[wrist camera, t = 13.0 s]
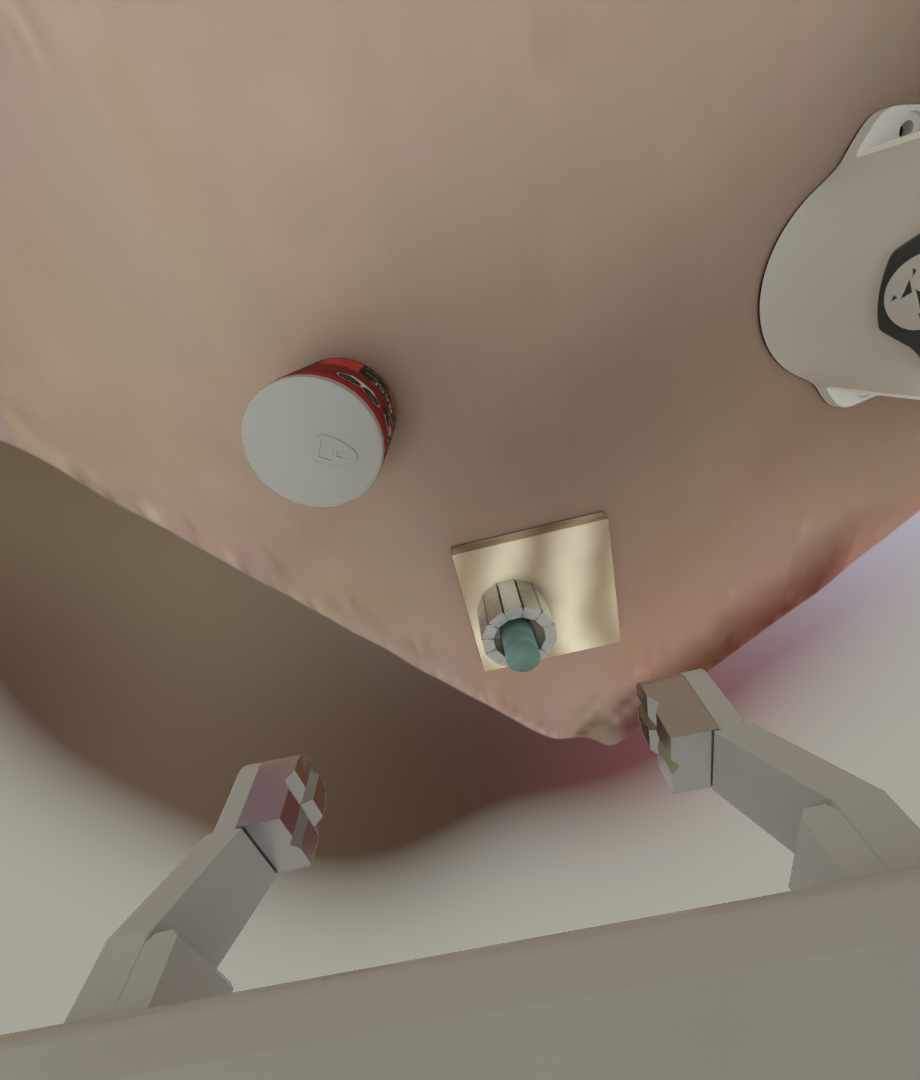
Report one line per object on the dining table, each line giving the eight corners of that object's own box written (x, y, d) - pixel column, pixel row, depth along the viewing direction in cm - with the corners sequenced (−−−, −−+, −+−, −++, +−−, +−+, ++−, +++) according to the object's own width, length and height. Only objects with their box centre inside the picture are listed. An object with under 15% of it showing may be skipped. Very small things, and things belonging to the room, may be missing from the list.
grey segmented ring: (539, 572, 42) (551, 600, 38) (549, 627, 44) (561, 658, 40) (471, 588, 42) (475, 617, 38) (485, 641, 45) (490, 673, 41)
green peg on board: (602, 511, 41) (641, 557, 33) (615, 632, 47) (650, 694, 39) (451, 547, 42) (455, 600, 34) (483, 661, 48) (492, 727, 40)
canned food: (398, 457, 38) (386, 509, 28) (300, 455, 37) (252, 508, 27) (396, 358, 34) (380, 377, 24) (287, 354, 34) (227, 372, 24)
